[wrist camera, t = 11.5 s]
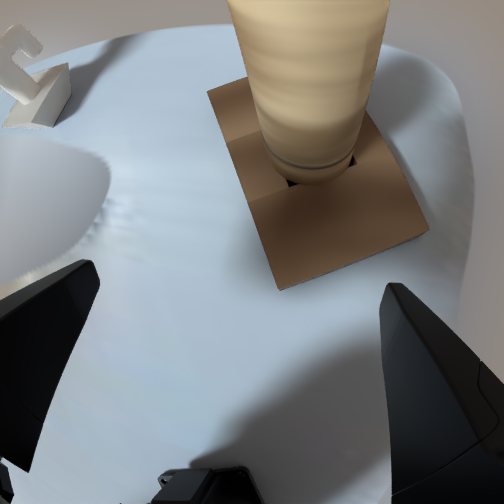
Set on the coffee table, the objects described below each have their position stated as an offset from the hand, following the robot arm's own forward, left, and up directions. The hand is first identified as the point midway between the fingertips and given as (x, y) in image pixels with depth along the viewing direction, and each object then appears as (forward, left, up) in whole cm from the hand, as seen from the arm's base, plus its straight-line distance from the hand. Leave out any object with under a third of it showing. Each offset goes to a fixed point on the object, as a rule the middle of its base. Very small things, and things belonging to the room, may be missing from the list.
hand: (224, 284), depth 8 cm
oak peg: (+7, -5, -8) cm, 12 cm away
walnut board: (+7, -6, -8) cm, 12 cm away
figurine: (+25, +15, -9) cm, 31 cm away
